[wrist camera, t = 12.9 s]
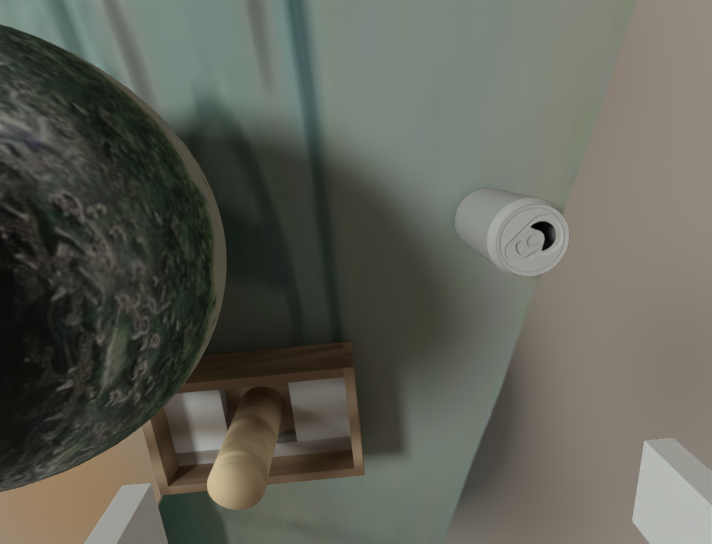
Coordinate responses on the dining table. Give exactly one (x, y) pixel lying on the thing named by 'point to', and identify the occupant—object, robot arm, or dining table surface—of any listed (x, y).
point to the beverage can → (513, 231)
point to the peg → (247, 450)
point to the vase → (93, 261)
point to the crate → (298, 425)
